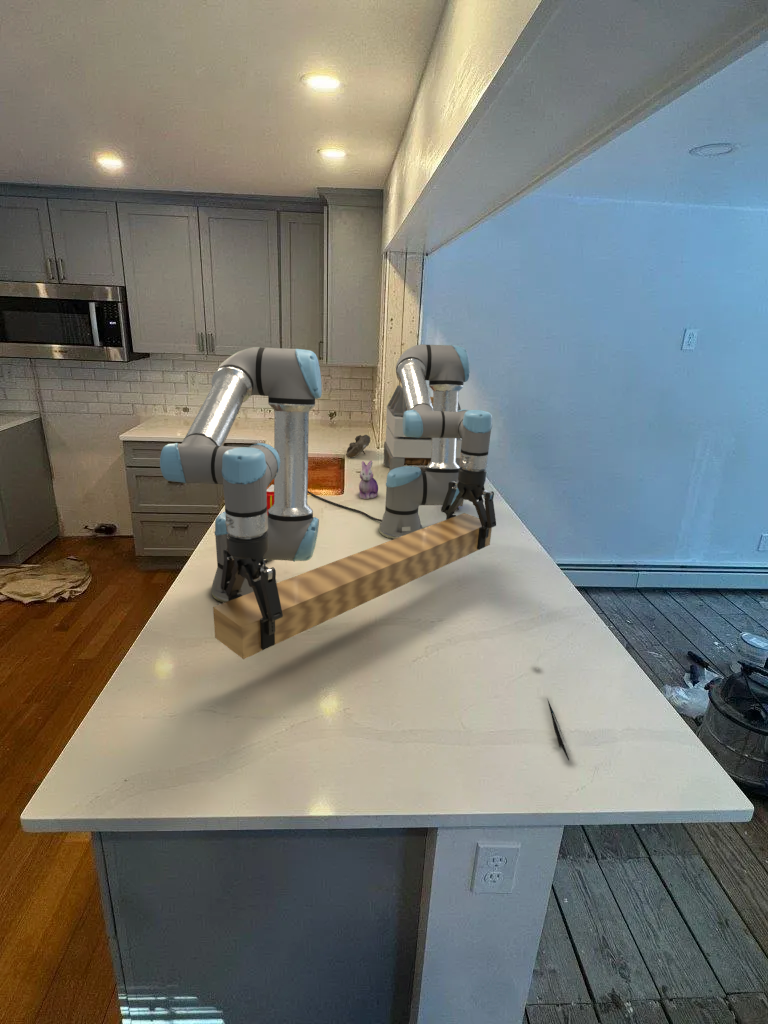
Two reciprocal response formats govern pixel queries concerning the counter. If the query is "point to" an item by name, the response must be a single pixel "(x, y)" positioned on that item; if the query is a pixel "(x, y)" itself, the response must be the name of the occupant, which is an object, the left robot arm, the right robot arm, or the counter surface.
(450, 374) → the right robot arm
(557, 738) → the feather
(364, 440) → the fossil
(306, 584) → the long beam
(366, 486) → the figurine
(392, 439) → the grey slatted crate
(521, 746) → the counter surface
